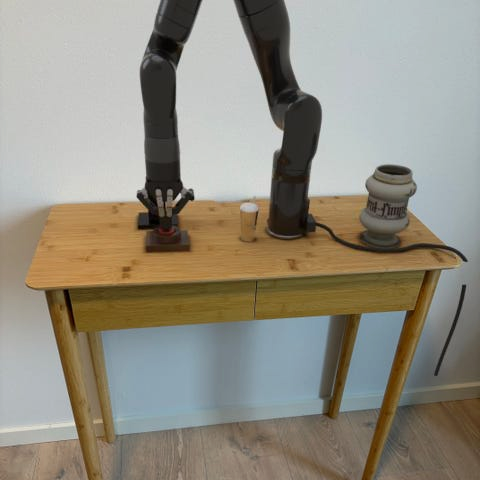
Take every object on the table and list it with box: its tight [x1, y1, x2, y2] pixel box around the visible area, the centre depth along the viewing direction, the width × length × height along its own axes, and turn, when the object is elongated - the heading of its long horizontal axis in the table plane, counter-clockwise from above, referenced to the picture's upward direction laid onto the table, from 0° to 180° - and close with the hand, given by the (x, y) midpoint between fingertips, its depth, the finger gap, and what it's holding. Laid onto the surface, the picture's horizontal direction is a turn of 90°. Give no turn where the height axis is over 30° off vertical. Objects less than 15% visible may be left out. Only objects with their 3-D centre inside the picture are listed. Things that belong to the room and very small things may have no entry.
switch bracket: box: [137, 192, 179, 230], centre depth 124 cm, size 10×8×13 cm
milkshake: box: [239, 195, 260, 242], centre depth 120 cm, size 4×5×10 cm
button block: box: [145, 225, 190, 253], centre depth 117 cm, size 10×8×4 cm
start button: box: [159, 228, 175, 235], centre depth 117 cm, size 4×4×2 cm
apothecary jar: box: [358, 163, 418, 248], centre depth 119 cm, size 12×12×18 cm
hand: (166, 229), depth 116 cm, fingers closed
